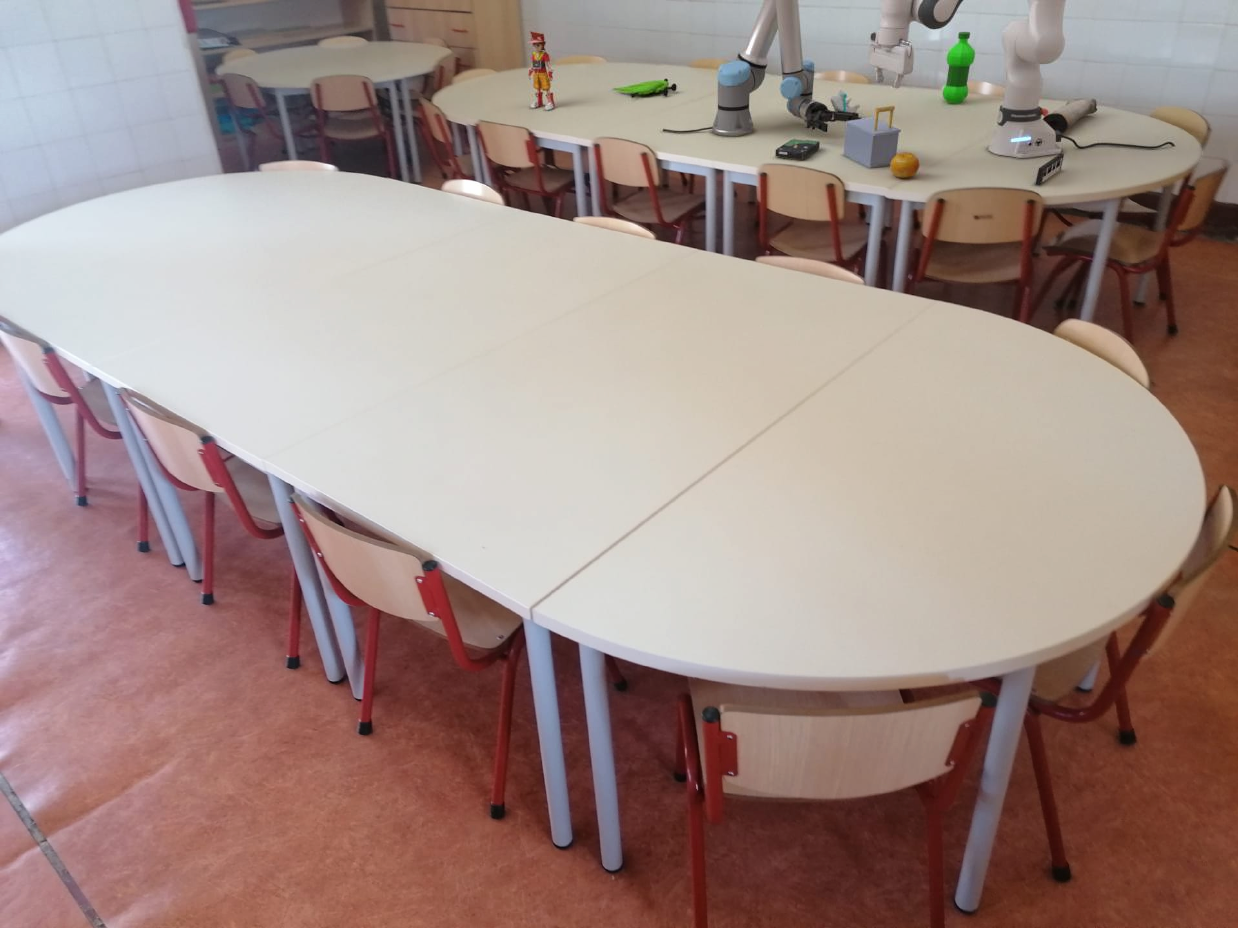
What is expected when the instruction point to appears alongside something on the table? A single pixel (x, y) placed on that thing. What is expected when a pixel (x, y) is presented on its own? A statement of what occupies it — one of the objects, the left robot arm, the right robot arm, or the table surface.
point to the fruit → (904, 165)
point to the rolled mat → (1070, 113)
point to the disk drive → (797, 149)
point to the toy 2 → (648, 88)
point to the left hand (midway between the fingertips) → (844, 125)
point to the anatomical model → (843, 103)
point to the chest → (870, 147)
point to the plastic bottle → (958, 69)
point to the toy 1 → (541, 71)
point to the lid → (876, 123)
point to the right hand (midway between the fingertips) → (887, 85)
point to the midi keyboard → (1049, 169)
